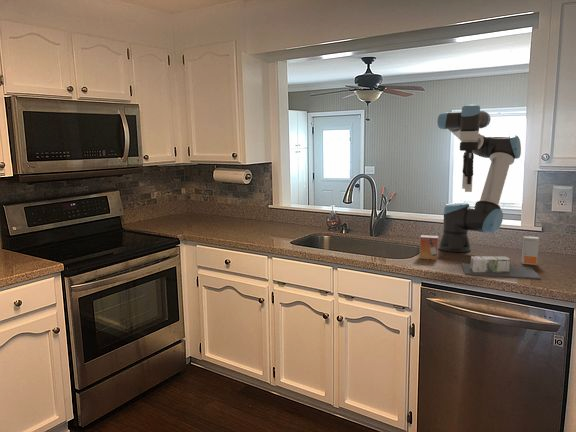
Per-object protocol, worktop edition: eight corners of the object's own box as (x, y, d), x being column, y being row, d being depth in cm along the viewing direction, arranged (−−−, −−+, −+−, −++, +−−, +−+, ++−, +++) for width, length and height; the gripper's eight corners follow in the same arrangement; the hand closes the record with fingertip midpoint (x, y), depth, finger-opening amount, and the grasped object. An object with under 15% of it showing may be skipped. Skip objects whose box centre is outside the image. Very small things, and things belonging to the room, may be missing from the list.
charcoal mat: (461, 264, 207) (461, 263, 207) (531, 268, 200) (531, 267, 200) (465, 274, 192) (465, 273, 192) (540, 279, 185) (540, 277, 185)
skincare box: (522, 264, 207) (524, 237, 205) (521, 261, 211) (522, 235, 209) (537, 265, 205) (539, 238, 203) (536, 263, 209) (538, 236, 207)
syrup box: (505, 255, 196) (470, 255, 198) (511, 259, 191) (474, 259, 192) (505, 269, 197) (469, 268, 199) (510, 273, 192) (474, 272, 193)
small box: (419, 259, 218) (419, 236, 217) (420, 256, 224) (420, 234, 222) (437, 260, 216) (438, 237, 214) (437, 257, 221) (438, 235, 219)
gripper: (482, 141, 190) (479, 193, 194) (475, 141, 214) (472, 187, 218) (462, 141, 193) (460, 193, 196) (457, 141, 216) (455, 187, 220)
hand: (466, 190), depth 207 cm, fingers open, 13 cm apart
